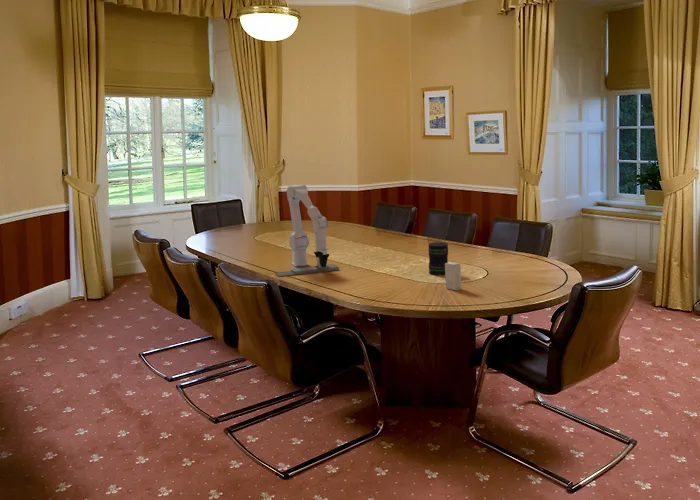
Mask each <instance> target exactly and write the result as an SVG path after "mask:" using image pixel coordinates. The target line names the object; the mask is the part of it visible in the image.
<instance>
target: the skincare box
mask: <svg viewBox="0 0 700 500" xmlns="http://www.w3.org/2000/svg"><path fill="white" fill-rule="evenodd" d="M461 269H462V268H461V263H460V262H454V261H449V262H448V263H445V275H444V276H445V289H446V290H447V289H448V290H450V291H451V290H453V291H459V290H462V275H461V273H462V272H461Z"/></svg>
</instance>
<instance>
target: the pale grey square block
mask: <svg viewBox="0 0 700 500" xmlns="http://www.w3.org/2000/svg"><path fill="white" fill-rule="evenodd" d="M315 258H316V266H317V269H320V268H327V265H328V263H327V264H326V267H322V266H321V261H320V258H319V257H316V256H315Z"/></svg>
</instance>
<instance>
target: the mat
mask: <svg viewBox="0 0 700 500" xmlns="http://www.w3.org/2000/svg"><path fill="white" fill-rule="evenodd" d="M274 274H275V275H276V276H277V277H278V278H281V277H292V276H297V275H296V274H294V273H293V272H292V271H291V270H286V271H279V272H274Z"/></svg>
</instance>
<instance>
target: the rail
mask: <svg viewBox="0 0 700 500" xmlns="http://www.w3.org/2000/svg"><path fill="white" fill-rule="evenodd" d="M339 270H340V266H338V265H337V264H335V263H331V264H327V268H320V269H317V265H314V266H313V265H312V266H300V267H295V268H290V271H292V272H293V273H294V274H296V275H295V276H299V275H307V273H308V274H317V273H323V272H324V273H325V272H326V273H327V272H333V271H339ZM298 274H299V275H298Z"/></svg>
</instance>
